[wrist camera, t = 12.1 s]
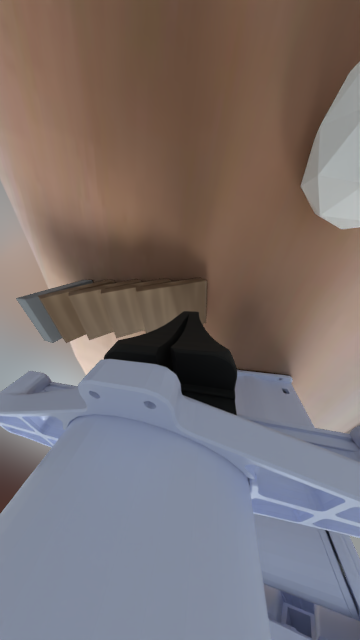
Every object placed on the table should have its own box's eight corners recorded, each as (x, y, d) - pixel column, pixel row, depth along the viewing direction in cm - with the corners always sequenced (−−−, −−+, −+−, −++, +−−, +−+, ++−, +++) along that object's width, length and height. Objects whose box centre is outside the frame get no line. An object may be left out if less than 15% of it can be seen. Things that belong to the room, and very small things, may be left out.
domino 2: (114, 280, 17) (40, 298, 13) (124, 316, 20) (66, 342, 15) (108, 279, 18) (37, 295, 13) (119, 314, 20) (62, 337, 16)
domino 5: (206, 280, 14) (136, 291, 12) (205, 322, 17) (146, 337, 15) (199, 277, 16) (135, 287, 14) (199, 317, 18) (145, 329, 16)
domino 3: (141, 281, 16) (68, 296, 13) (149, 319, 18) (89, 340, 15) (136, 278, 17) (68, 292, 14) (144, 315, 20) (88, 333, 16)
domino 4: (171, 280, 15) (100, 293, 13) (175, 320, 18) (116, 338, 15) (166, 278, 16) (101, 289, 14) (170, 315, 19) (115, 331, 16)
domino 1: (96, 313, 21) (44, 340, 16) (83, 279, 19) (15, 298, 13) (104, 314, 21) (53, 343, 15) (92, 280, 18) (24, 299, 13)
